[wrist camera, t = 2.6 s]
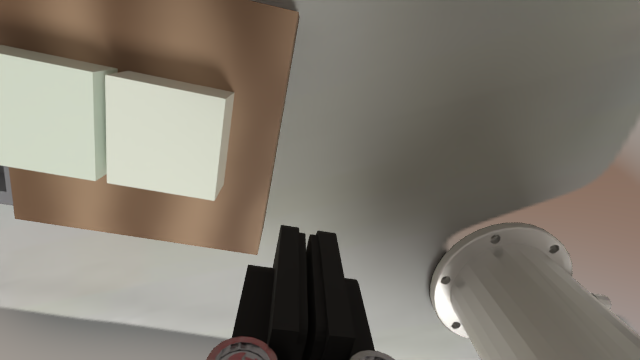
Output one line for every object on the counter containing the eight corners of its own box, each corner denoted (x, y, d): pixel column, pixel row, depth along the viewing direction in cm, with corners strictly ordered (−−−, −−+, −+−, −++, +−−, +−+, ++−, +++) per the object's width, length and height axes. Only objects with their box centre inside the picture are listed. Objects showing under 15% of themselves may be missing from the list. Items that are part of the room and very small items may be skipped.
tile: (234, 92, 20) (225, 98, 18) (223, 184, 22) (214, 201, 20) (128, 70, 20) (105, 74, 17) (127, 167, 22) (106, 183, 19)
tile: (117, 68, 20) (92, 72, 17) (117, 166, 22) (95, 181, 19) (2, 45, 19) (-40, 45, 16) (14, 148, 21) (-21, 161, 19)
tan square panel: (299, 17, 23) (298, 11, 19) (263, 224, 29) (257, 254, 25) (43, -43, 21) (-21, -64, 17) (59, 191, 27) (14, 218, 23)
